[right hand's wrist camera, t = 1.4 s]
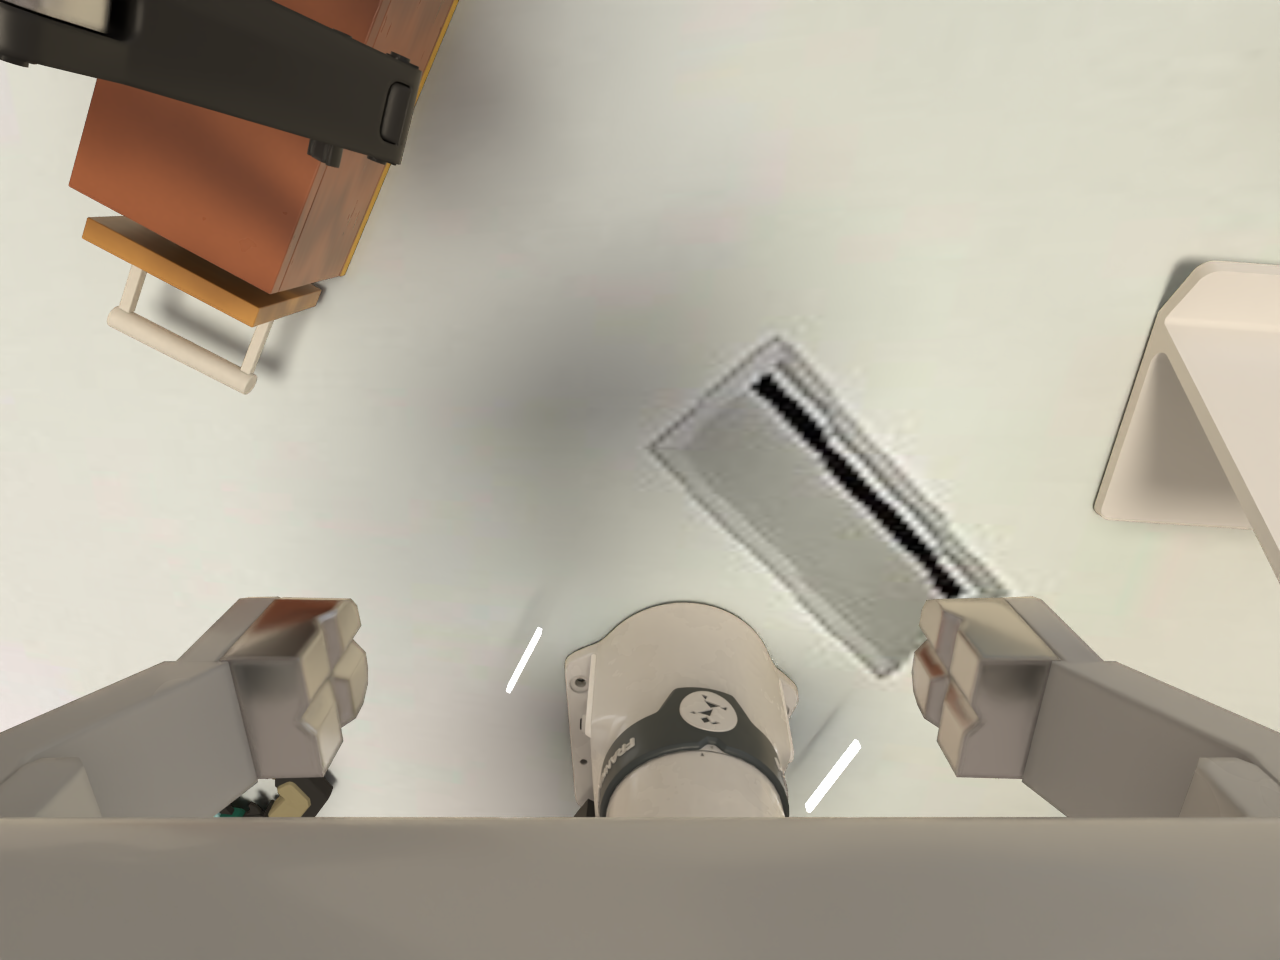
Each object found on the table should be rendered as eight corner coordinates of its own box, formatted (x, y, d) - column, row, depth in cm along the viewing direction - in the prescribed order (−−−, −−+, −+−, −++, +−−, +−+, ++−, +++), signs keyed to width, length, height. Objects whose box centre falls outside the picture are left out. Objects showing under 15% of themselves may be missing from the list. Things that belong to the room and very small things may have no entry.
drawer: (284, 381, 48) (218, 416, 40) (149, 311, 46) (54, 334, 39) (439, 2, 40) (392, -43, 32) (282, -99, 38) (195, -171, 31)
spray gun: (356, 751, 61) (304, 861, 67) (152, 685, 57) (115, 807, 63) (339, 792, 57) (286, 905, 63) (119, 724, 54) (82, 850, 59)
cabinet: (344, 275, 46) (270, 295, 37) (187, 188, 44) (67, 186, 35) (481, -55, 40) (433, -131, 31) (304, -174, 38) (195, -293, 29)
